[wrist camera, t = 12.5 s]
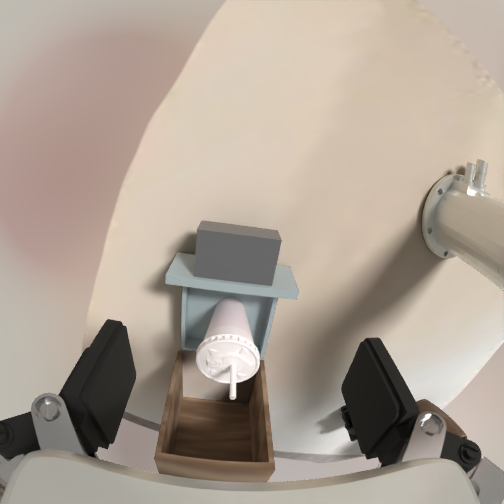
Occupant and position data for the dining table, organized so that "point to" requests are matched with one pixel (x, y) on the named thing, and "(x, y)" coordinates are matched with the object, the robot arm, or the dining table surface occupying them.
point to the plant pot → (450, 424)
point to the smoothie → (228, 346)
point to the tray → (219, 290)
